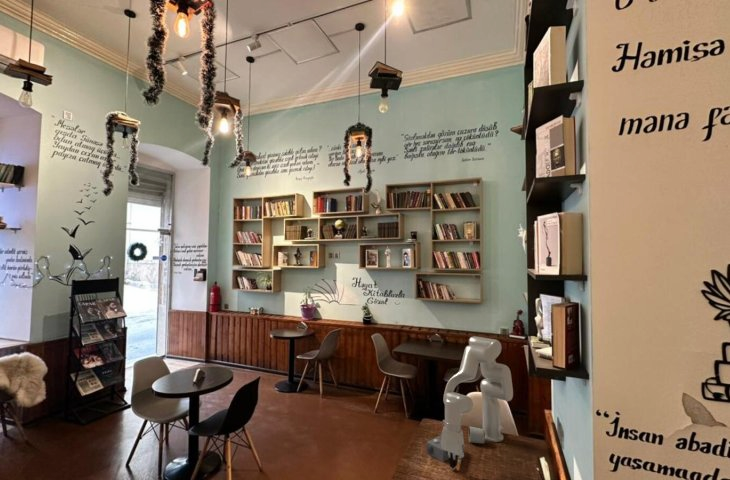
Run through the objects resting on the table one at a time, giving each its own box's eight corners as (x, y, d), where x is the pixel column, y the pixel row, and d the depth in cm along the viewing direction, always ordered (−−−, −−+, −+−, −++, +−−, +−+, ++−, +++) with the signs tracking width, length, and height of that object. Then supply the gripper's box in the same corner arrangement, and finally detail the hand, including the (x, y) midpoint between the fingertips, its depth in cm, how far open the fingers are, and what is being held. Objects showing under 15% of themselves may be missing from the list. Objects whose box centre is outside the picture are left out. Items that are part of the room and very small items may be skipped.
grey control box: (445, 443, 179) (445, 431, 180) (461, 451, 172) (461, 438, 172) (425, 453, 168) (425, 440, 169) (442, 462, 161) (442, 448, 162)
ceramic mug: (486, 446, 178) (485, 431, 178) (470, 444, 179) (470, 429, 180) (482, 437, 188) (481, 423, 189) (467, 436, 189) (467, 421, 190)
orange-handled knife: (460, 450, 172) (460, 441, 172) (462, 451, 171) (462, 442, 172) (456, 472, 153) (456, 461, 153) (459, 472, 152) (459, 462, 153)
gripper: (435, 423, 160) (434, 463, 158) (464, 433, 150) (464, 476, 148) (442, 418, 165) (442, 457, 163) (471, 428, 155) (471, 470, 153)
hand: (452, 466), depth 156 cm, fingers closed
